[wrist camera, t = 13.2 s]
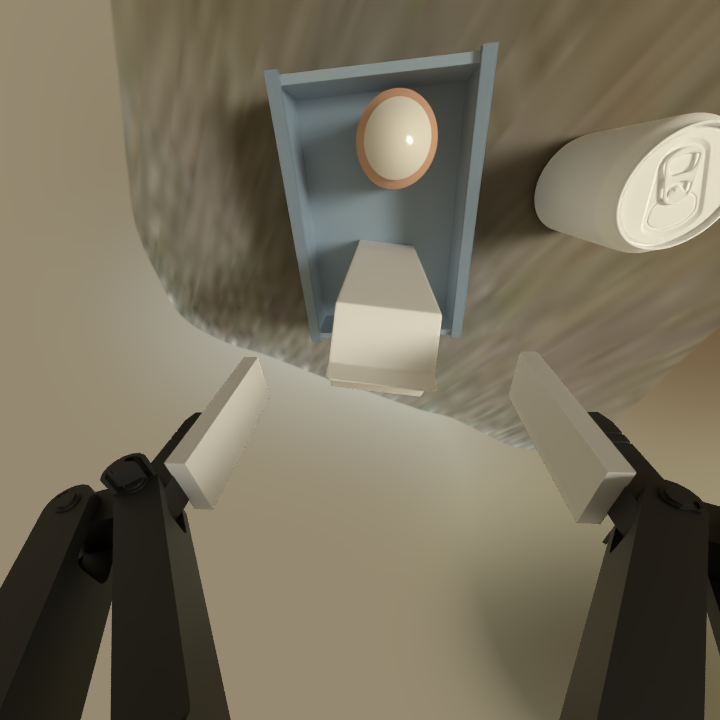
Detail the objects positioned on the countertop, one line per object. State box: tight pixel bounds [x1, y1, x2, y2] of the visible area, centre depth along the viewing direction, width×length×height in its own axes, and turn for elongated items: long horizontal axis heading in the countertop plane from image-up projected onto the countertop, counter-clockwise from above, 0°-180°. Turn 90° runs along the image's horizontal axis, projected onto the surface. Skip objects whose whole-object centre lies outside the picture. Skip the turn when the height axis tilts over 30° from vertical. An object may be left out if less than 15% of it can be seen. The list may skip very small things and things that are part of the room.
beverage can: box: [534, 113, 720, 253], centre depth 23 cm, size 8×8×12 cm
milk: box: [325, 240, 442, 396], centre depth 24 cm, size 6×6×22 cm
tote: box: [264, 42, 499, 342], centre depth 29 cm, size 22×16×6 cm
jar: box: [356, 88, 438, 189], centre depth 24 cm, size 6×6×8 cm
